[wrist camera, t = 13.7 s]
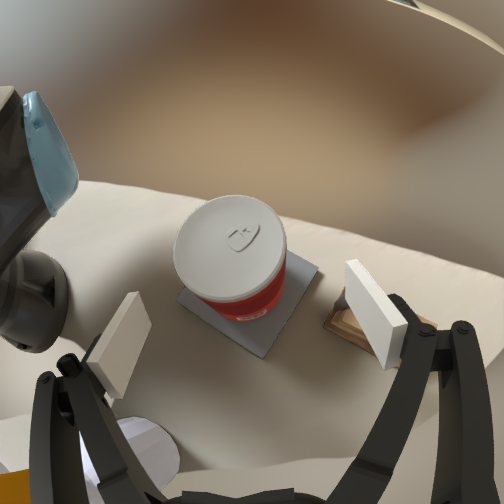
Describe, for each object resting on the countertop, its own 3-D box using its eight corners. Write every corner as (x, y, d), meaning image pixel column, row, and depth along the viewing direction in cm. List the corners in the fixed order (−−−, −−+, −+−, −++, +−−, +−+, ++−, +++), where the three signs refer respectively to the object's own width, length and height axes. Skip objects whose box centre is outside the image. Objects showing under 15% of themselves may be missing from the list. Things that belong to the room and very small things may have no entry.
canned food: (297, 272, 28) (308, 223, 18) (255, 338, 26) (240, 326, 16) (237, 237, 31) (217, 177, 20) (194, 297, 28) (150, 262, 18)
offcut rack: (321, 325, 27) (334, 315, 21) (343, 285, 28) (361, 263, 22) (412, 376, 24) (446, 377, 17) (430, 336, 25) (465, 327, 19)
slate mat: (178, 301, 29) (175, 300, 29) (233, 223, 32) (232, 219, 31) (262, 358, 26) (262, 358, 26) (317, 270, 29) (318, 267, 28)
